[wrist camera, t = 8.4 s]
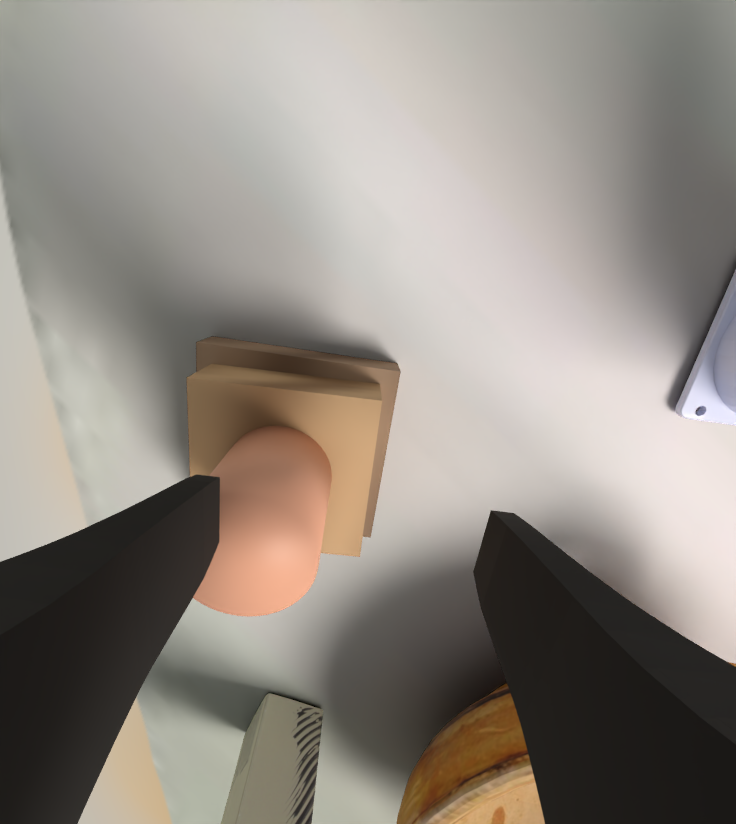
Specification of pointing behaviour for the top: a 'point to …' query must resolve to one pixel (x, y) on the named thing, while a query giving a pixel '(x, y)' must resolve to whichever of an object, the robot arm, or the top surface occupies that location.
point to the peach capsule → (268, 522)
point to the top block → (299, 409)
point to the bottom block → (321, 366)
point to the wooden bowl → (475, 770)
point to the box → (276, 765)
